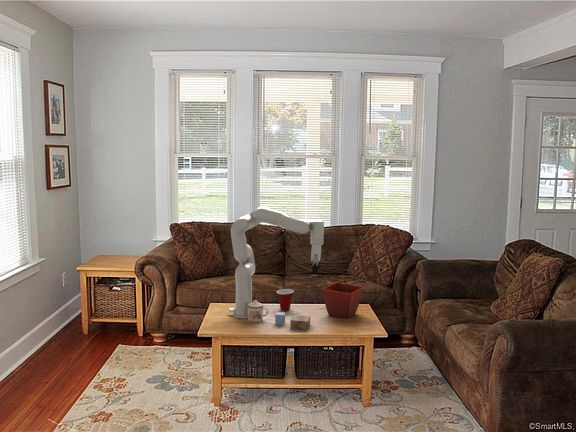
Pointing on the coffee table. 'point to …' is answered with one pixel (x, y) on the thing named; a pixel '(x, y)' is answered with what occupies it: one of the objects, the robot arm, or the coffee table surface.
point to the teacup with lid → (256, 311)
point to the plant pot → (342, 299)
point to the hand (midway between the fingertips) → (315, 270)
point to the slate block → (279, 318)
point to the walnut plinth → (300, 322)
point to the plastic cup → (285, 298)
